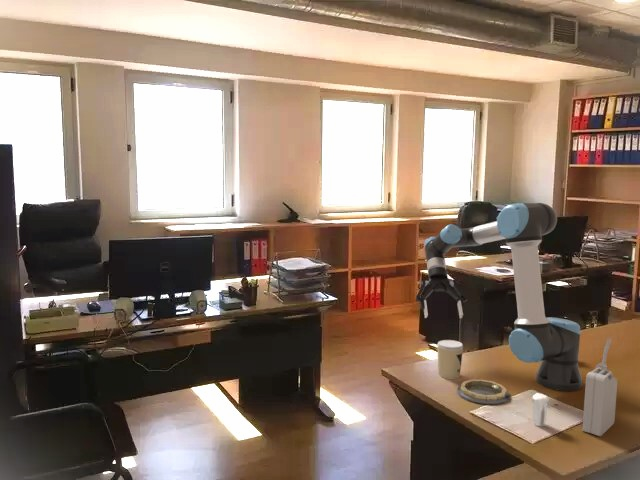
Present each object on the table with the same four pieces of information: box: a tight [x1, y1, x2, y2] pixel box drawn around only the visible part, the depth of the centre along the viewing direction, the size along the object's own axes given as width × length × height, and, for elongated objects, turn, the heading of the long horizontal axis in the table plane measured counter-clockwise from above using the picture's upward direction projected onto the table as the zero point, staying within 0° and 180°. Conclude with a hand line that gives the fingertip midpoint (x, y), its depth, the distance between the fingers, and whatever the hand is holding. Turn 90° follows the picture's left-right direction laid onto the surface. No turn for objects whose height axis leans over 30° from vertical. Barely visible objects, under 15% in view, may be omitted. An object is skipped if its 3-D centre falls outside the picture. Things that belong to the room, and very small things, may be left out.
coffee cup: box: [436, 339, 464, 380], centre depth 201 cm, size 9×9×12 cm
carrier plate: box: [456, 379, 511, 406], centre depth 184 cm, size 17×17×2 cm
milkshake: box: [530, 392, 550, 427], centre depth 162 cm, size 4×5×10 cm
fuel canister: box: [582, 337, 618, 437], centre depth 161 cm, size 15×5×25 cm, turn 135°
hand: (443, 316), depth 212 cm, fingers open, 13 cm apart
